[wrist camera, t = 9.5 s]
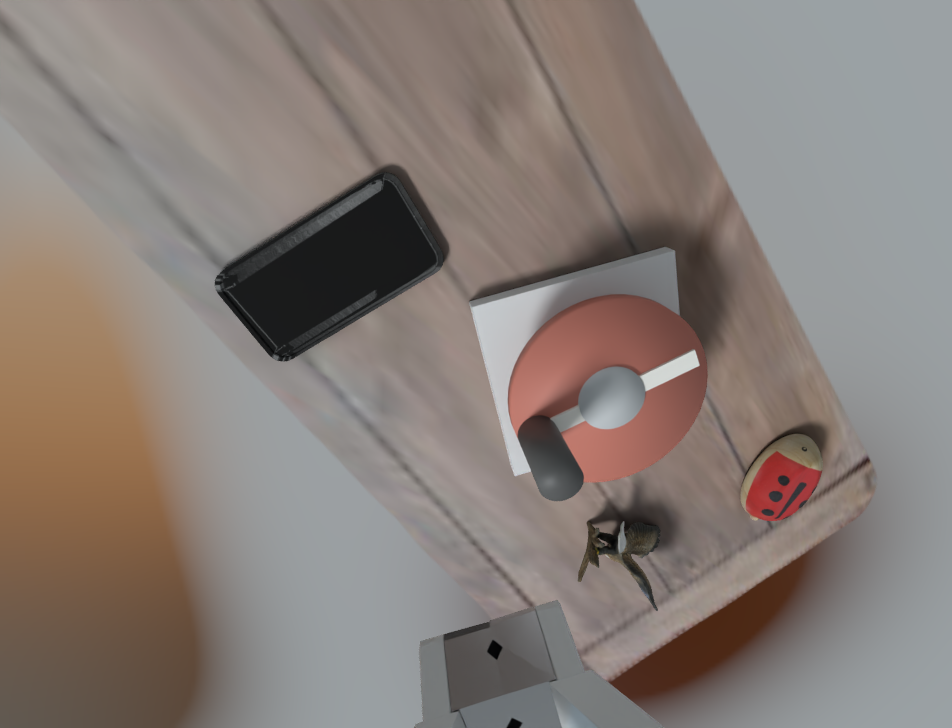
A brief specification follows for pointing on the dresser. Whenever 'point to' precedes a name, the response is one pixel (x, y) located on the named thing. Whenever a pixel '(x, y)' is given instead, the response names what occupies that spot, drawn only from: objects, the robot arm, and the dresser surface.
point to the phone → (331, 268)
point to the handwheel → (605, 391)
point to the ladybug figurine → (782, 478)
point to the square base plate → (529, 307)
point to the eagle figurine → (623, 550)
